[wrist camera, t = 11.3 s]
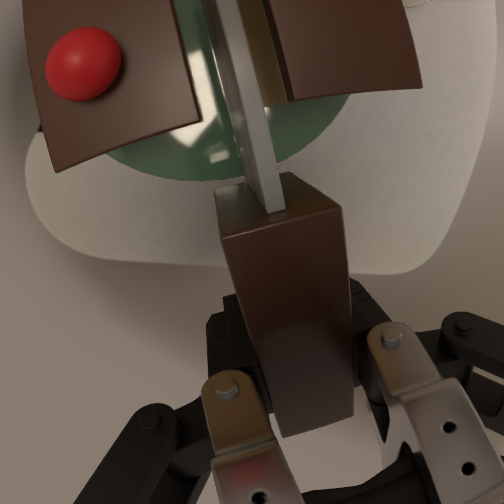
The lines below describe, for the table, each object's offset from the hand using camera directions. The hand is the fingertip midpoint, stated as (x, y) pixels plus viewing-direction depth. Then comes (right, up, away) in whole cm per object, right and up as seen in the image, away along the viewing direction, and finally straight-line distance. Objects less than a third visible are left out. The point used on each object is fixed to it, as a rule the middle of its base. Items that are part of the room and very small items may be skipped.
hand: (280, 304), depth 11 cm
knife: (-1, +4, -2) cm, 5 cm away
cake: (-3, +11, -1) cm, 11 cm away
